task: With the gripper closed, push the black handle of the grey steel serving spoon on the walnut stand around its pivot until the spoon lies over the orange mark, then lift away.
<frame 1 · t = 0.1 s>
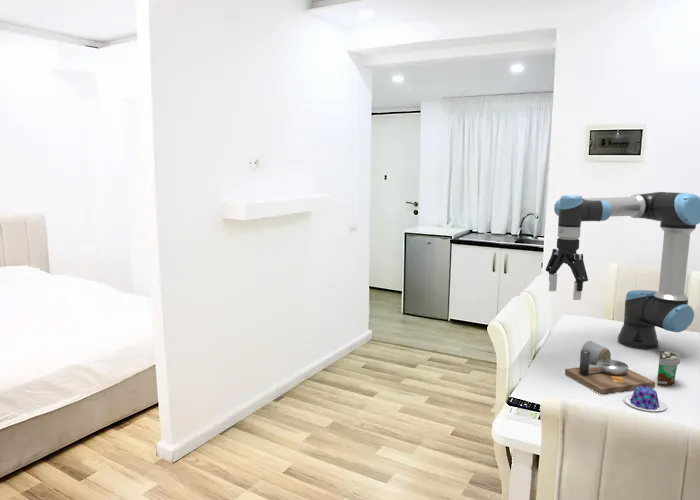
hand: (564, 295, 189), 28 cm above the table, tool pointing down, fingers open, 13 cm apart
stand: (608, 380, 181), on the table
steel serving spoon: (603, 360, 183), point 6 cm above the table, hinge at 0.0°
pudding: (644, 405, 163), on the table
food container: (667, 382, 180), on the table
ceramic mug: (597, 362, 199), on the table
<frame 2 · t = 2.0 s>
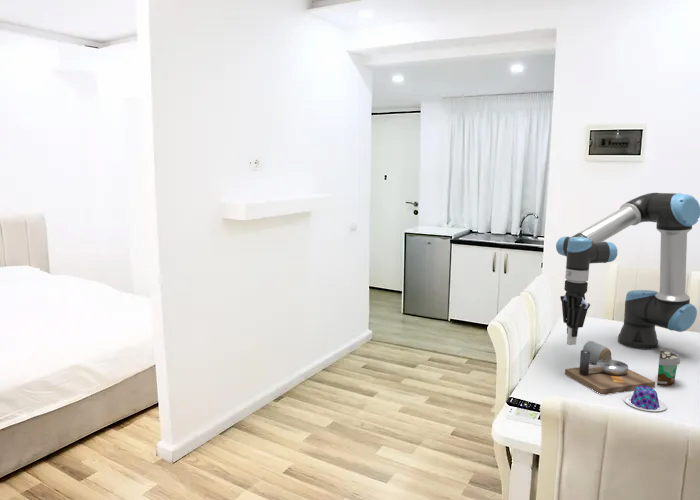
hand: (571, 344, 187), 11 cm above the table, tool pointing down, fingers closed
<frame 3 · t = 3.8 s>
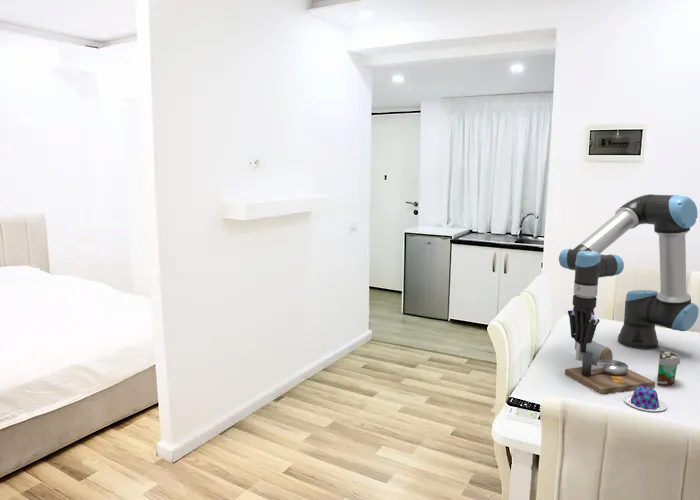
hand: (579, 359, 183), 7 cm above the table, tool pointing down, fingers closed
steel serving spoon: (603, 360, 182), point 6 cm above the table, hinge at 5.2°, touching gripper
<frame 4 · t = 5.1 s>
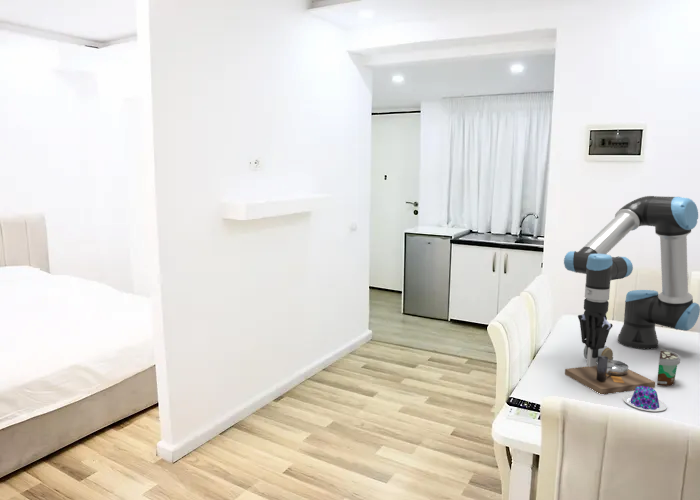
hand: (591, 365, 178), 6 cm above the table, tool pointing down, fingers closed
steel serving spoon: (609, 362, 181), point 6 cm above the table, hinge at 31.7°, touching gripper
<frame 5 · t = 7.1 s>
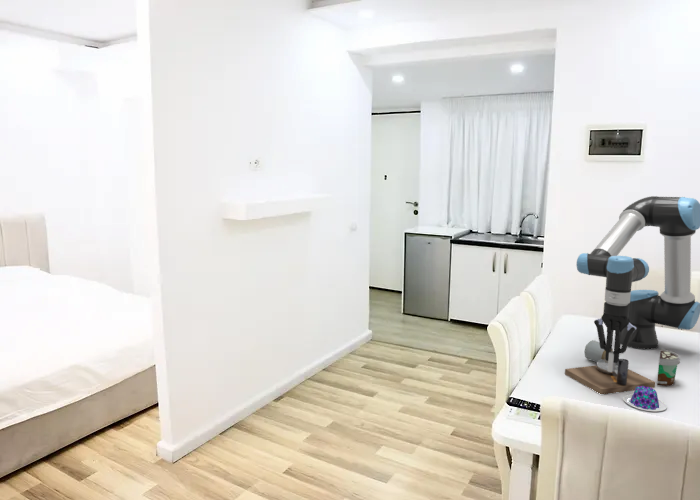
hand: (611, 370, 173), 6 cm above the table, tool pointing down, fingers closed
steel serving spoon: (616, 363, 180), point 6 cm above the table, hinge at 61.8°, touching gripper
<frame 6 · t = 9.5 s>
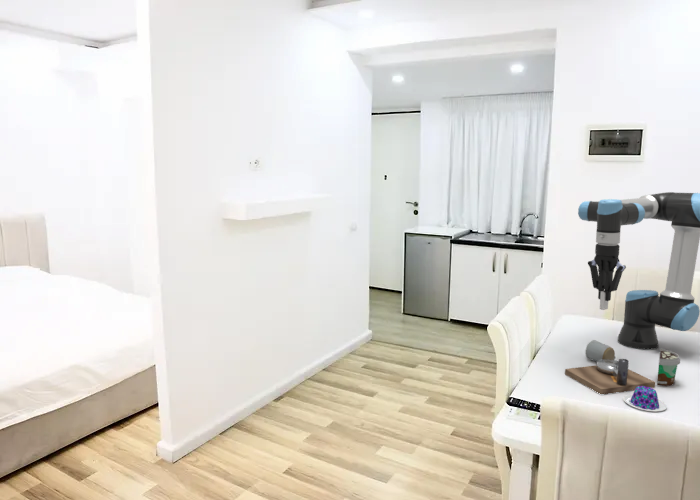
hand: (603, 308, 183), 24 cm above the table, tool pointing down, fingers closed
steel serving spoon: (616, 363, 180), point 6 cm above the table, hinge at 61.9°
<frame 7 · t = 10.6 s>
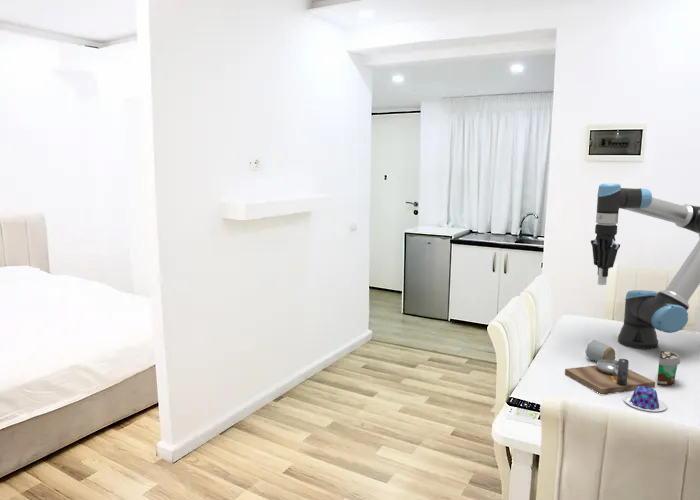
hand: (601, 284, 200), 29 cm above the table, tool pointing down, fingers closed
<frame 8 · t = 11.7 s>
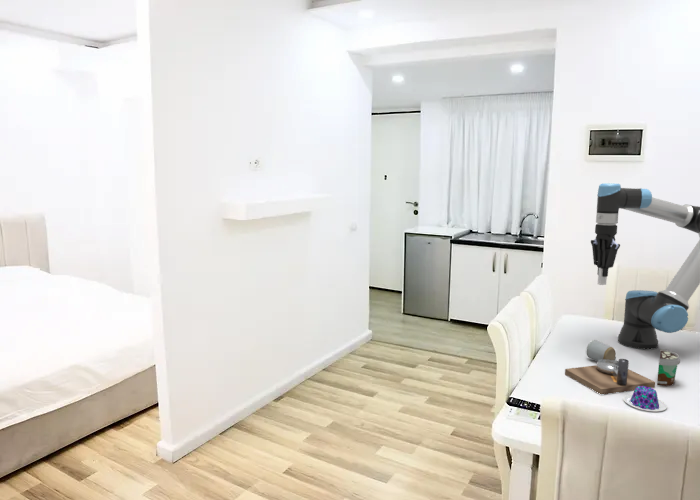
hand: (601, 284, 200), 29 cm above the table, tool pointing down, fingers closed
at the end: steel serving spoon at +62° (first picture: +0°); pudding moved 0.5 cm from its start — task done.
